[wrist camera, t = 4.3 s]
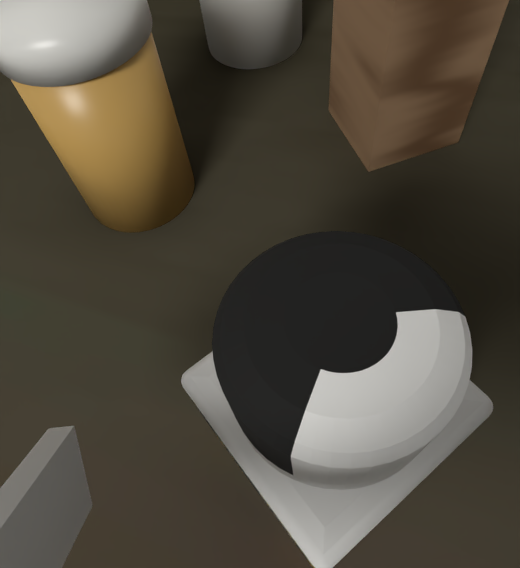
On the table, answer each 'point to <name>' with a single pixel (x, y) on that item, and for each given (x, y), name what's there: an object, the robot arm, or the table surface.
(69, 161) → the amber jar
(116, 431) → the table surface
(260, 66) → the white tub
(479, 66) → the walnut block
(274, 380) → the medicine bottle
